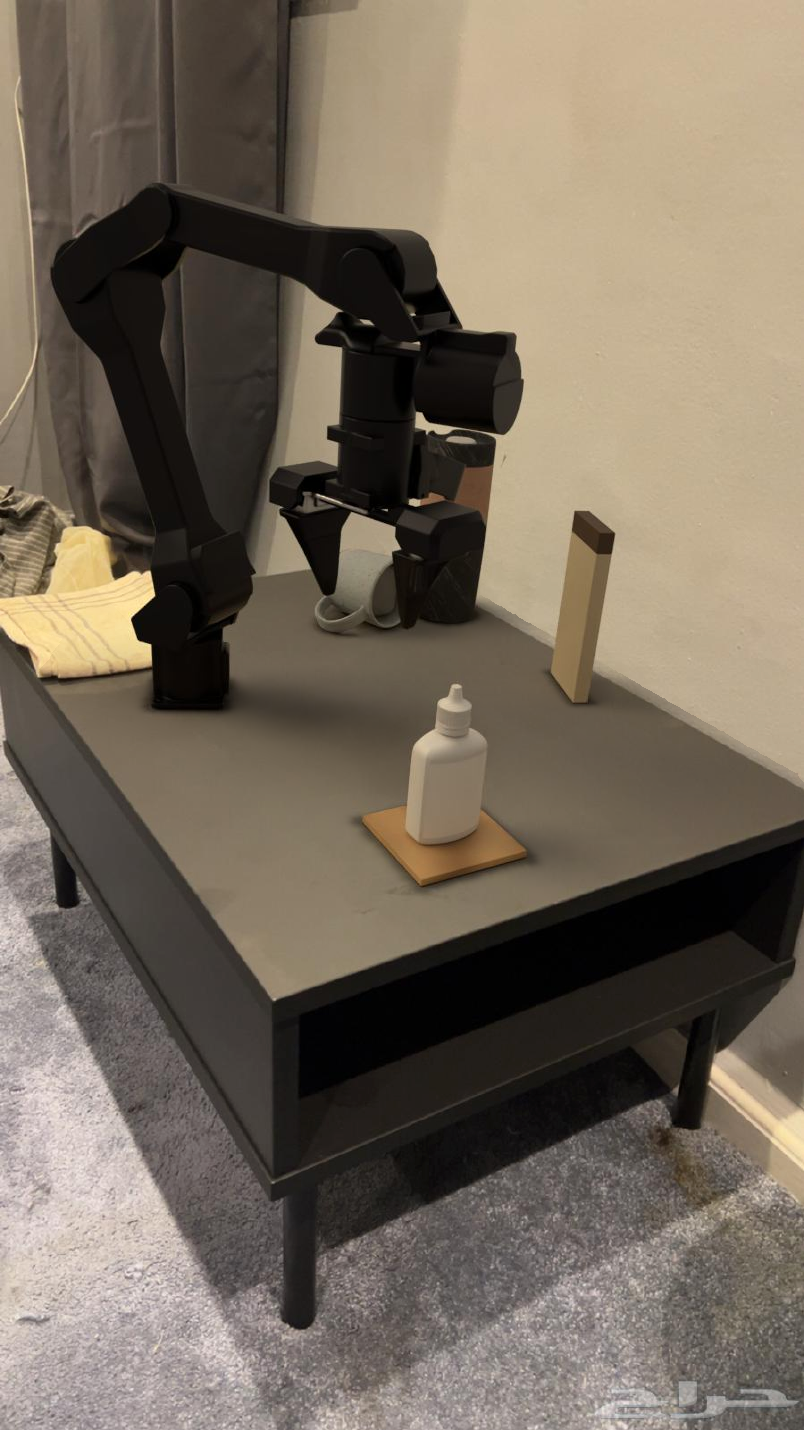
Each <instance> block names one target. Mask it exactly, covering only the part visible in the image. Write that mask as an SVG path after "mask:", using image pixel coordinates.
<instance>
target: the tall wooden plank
mask: <svg viewBox="0 0 804 1430" xmlns="http://www.w3.org/2000/svg"><path fill="white" fill-rule="evenodd" d="M572 518H573V519H572V524H571V525H572V526H571V531H570V532H571V533H570V538H569V546H568V552H567V559H566V565H565V572H564V580H563V587H562V593H561V600H560V606H559V615H558V621H557V628H556V635H555V640H554V648H553V654H552V660H551V661H552V662H551V667H550V673H551V675H552V676H553V678H554V679H555V680H556V682H557V683H558V684H559V686H560V688H562V690H563V691H564V692H565V694H566V695H567V698H568V699H570V701H571V703H573V704H575V703H578V704H579V703H580V704H581V703H588V699H589V695H590V688H591V683H592V677H593V670H594V665H595V664H594V663H595V657H596V652H597V645H598V641H599V634H600V628H601V623H602V618H603V617H602V615H603V611H604V604H605V598H606V593H607V592H606V591H607V586H608V580H609V574H610V568H611V563H612V555H613V551H614V550H613V549H614V545H615V538H616V532H615V531H614V530H612V528H610V527H609V526H608V525H606V524H605V522H603V521H602V520H601V519H599V518H598V517H597V516H596V515H595V514H593V512H591V511H590V510H574V511H573V517H572Z"/></svg>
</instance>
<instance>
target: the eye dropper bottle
mask: <svg viewBox="0 0 804 1430" xmlns="http://www.w3.org/2000/svg"><path fill="white" fill-rule="evenodd" d="M463 696H464V695H463V687H462V685H461V684H457V683H453V684H452V685H451V687H450V690H449V693H448V695H447V696H446V697H442V698H441V699H439V700H438V701H437V706H436V716H435V726H434V727H435V728H433V729H432V730H430V731H428V732H427V733H425V734H424V735H423V736H421V737H420V738H419V739H418V740H417V741H416V742H415V743H414V745H413V747H412V750H411V759H410V768H409V770H410V771H409V778H408V779H409V780H408V790H407V802H406V805H407V813H406V825H405V828H406V831H407V833H408V834H409V835H410V836H411V837H412V838H413V839H414V840H416V841H417V842H418V843H420V844H424V845H433V844H443V843H448V842H453V841H456V840H459V839H461V838H463V837H465V836H467V835H469V834H471V833H472V832H473V831H474V830H476V828H477V827H478V824H479V818H480V810H481V809H482V802H483V801H482V800H483V794H484V793H483V792H484V785H485V777H486V776H485V775H486V768H487V758H488V741H487V740H486V738H485V737H484V736H483V735H482V734H481V733H480V732H479V731H477V730H476V729H474V728H471V727H470V726H471V718H472V710H473V709H472V708H473V705H472V703H471V702H470V701H469V700H467V699H465V698H464V697H463Z"/></svg>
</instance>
